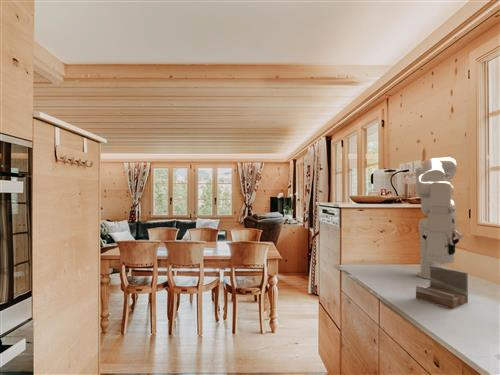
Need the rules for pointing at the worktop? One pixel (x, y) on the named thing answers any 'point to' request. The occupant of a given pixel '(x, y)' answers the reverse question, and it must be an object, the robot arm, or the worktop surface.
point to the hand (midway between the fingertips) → (440, 252)
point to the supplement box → (438, 248)
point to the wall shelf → (445, 287)
